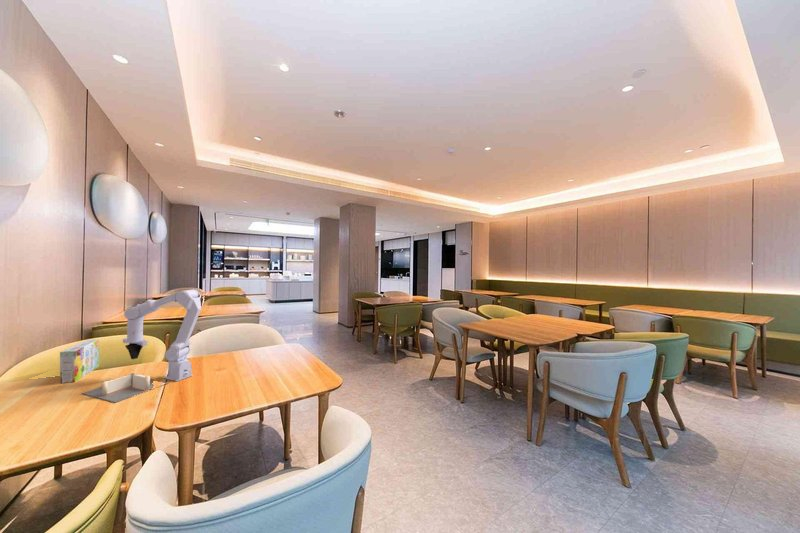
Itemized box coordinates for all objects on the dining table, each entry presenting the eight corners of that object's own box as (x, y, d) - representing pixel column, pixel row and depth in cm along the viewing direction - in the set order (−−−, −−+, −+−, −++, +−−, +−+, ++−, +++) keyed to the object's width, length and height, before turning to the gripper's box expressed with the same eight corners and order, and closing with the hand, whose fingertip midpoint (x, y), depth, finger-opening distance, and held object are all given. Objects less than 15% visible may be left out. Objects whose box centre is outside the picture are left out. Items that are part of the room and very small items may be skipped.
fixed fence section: (150, 389, 128) (150, 375, 128) (146, 390, 127) (146, 377, 127) (136, 385, 131) (136, 372, 131) (131, 387, 130) (132, 374, 129)
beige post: (132, 383, 132) (133, 372, 131) (135, 384, 131) (135, 372, 131) (101, 394, 120) (101, 382, 120) (103, 395, 120) (103, 382, 120)
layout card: (167, 383, 135) (168, 382, 135) (115, 402, 116) (115, 401, 116) (136, 376, 142) (136, 375, 142) (81, 393, 122) (81, 392, 122)
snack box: (85, 368, 150) (86, 339, 150) (99, 366, 153) (100, 338, 153) (58, 384, 131) (59, 351, 131) (75, 382, 133) (76, 350, 133)
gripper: (115, 331, 139) (114, 359, 139) (135, 334, 134) (134, 363, 135) (132, 328, 145) (132, 354, 146) (152, 331, 141) (151, 358, 141)
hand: (134, 358), depth 141 cm, fingers closed
